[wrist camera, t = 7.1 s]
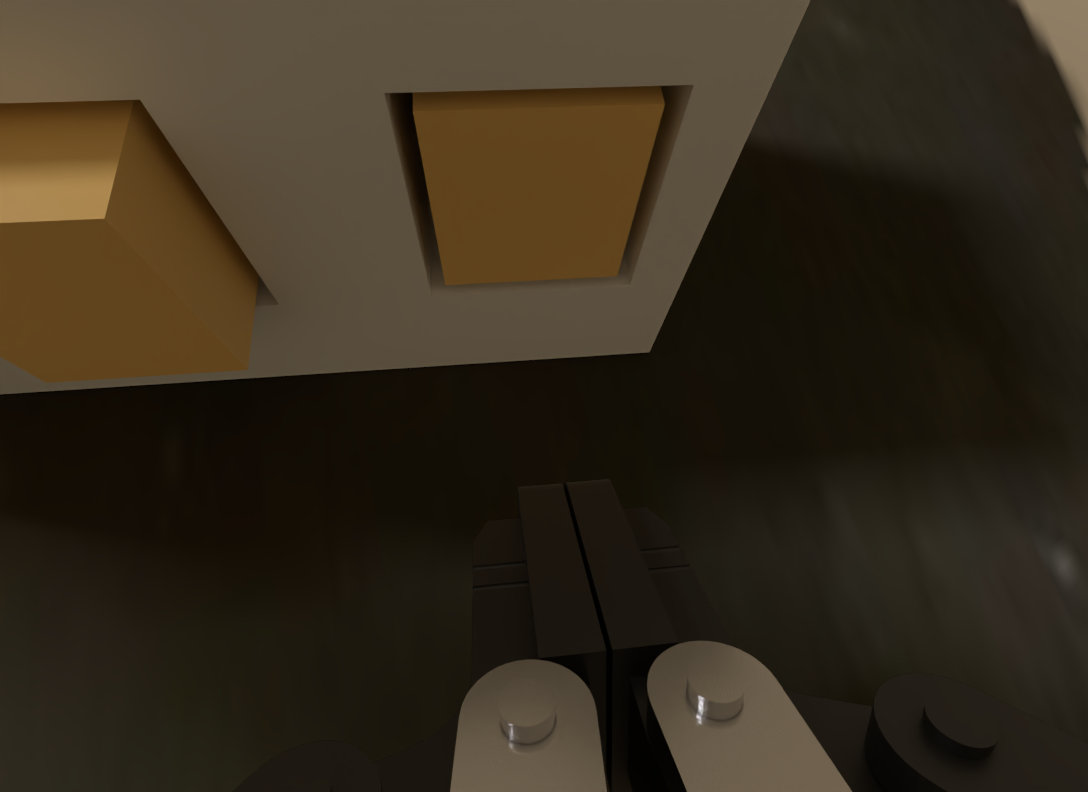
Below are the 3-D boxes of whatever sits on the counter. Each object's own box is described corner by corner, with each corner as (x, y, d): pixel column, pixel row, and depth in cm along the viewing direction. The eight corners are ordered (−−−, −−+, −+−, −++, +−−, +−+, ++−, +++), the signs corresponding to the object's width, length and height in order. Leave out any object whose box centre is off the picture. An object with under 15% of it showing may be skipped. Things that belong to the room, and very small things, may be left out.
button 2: (445, 285, 15) (412, 111, 10) (441, 192, 16) (411, -3, 11) (617, 276, 15) (665, 104, 10) (601, 186, 16) (638, -7, 12)
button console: (-221, 408, 17) (-1702, -78, 6) (-96, 131, 21) (-795, -464, 10) (649, 352, 19) (848, -85, 8) (603, 110, 24) (689, -400, 12)
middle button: (46, 382, 13) (-218, 232, 8) (75, 271, 14) (-142, 85, 10) (248, 370, 14) (104, 218, 9) (260, 263, 15) (139, 77, 10)
